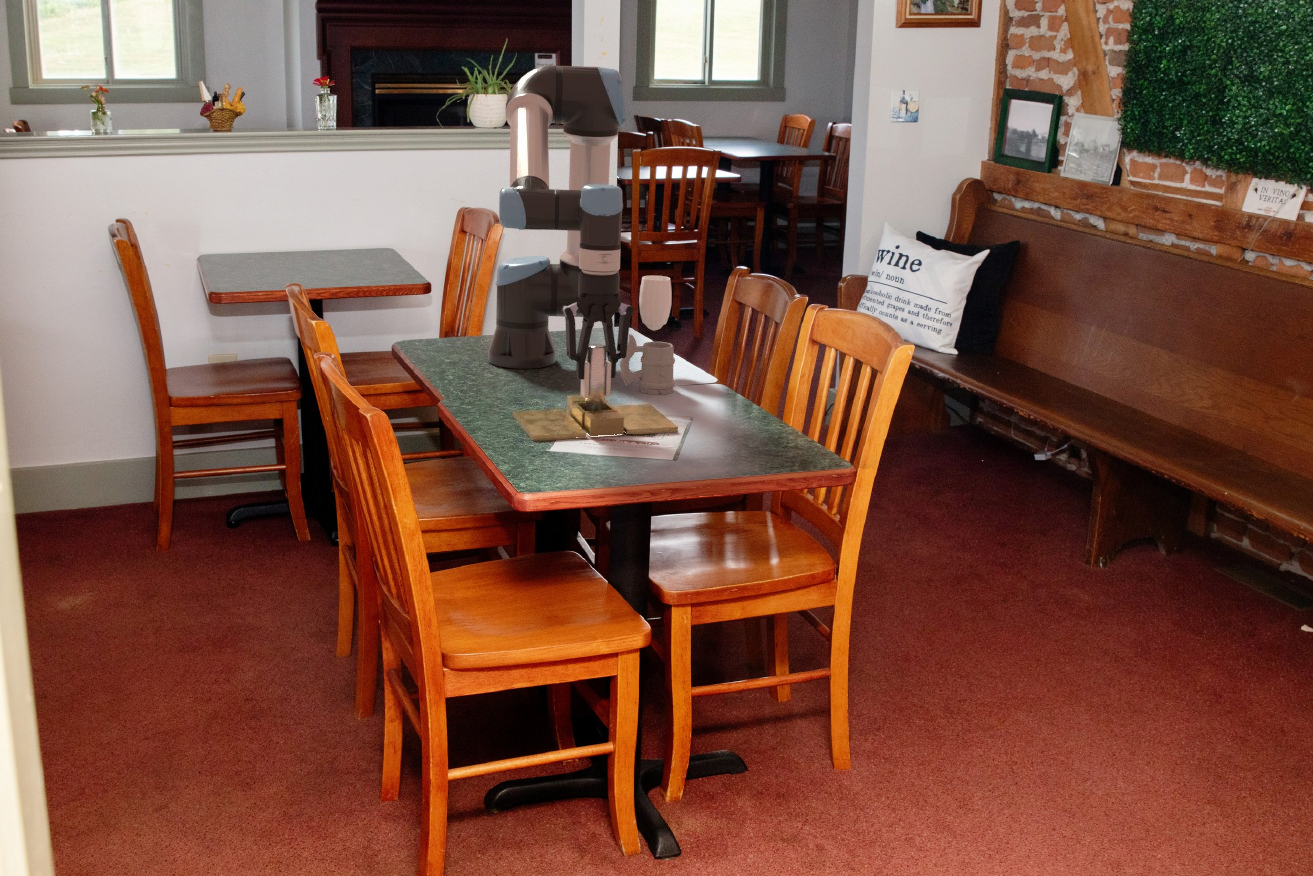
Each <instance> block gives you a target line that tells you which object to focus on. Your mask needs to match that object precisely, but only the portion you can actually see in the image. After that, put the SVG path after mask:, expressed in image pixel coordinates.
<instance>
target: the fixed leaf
mask: <svg viewBox="0 0 1313 876" xmlns="http://www.w3.org/2000/svg"><path fill="white" fill-rule="evenodd" d="M585 406H586V402H574V403H572V417H571V416H570V415H569V414H568V413H567V410H566V409H564V408H556V409H535V410H533V409H532V410H517V411H516V410H515V411H514V410H513V411H512V417H513V418H514V420H515V421H516V422H517V424H519V426H520V427H521V429H522V430H523V431H524V433H526V434H527V435H528V437H529V438H530V439H531V441H532V442H536V441H537V442H539V441H540V442H541V441H555V440H556V441H557V440H572V439H571V438H576V437H586V438H587V434H586V433H588V434H589V435H590V436H598V435H614V434H615V435H617V434H623V435H624V432H623V431H624V417H623V416H622V415H621V414H620V413H618V410H617V409H616V408H615V407H613V406H614V405H612V404H611V403H610V402H609V401H608V400H605V409H604V410H601V411H585ZM576 439H577V438H576Z"/></svg>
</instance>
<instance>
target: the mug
mask: <svg viewBox="0 0 1313 876" xmlns="http://www.w3.org/2000/svg"><path fill="white" fill-rule="evenodd" d="M674 348H675V347H674V345H673V344H672V343H670V342H665V341H647V342H645V343H643V345H637V340H636V339H635V337H634V335H633V334H630V333H629V334H628V344H627V354H626V357H625V358H621V359H620V362H619V366H620V376H621V380H622V381H624V385H625V386H630V385H631V384H632V383H633V382H634V381H636V380H638V382H637V383H638V386H639V391H640V392H642V393H644V394H647V395H657V396H659V395H663V396H664V395H669V394H672V393H673V392H674V387H675V385H676V380H675V378H674V364H675V362H676V359H675V357H674V354H675V353H674ZM635 353H642V355H641V357H640V363H641V367H640V369H639V370H636V371H633V372H632V370H631V369H630V361H631V358H633V356H634V354H635Z"/></svg>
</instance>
